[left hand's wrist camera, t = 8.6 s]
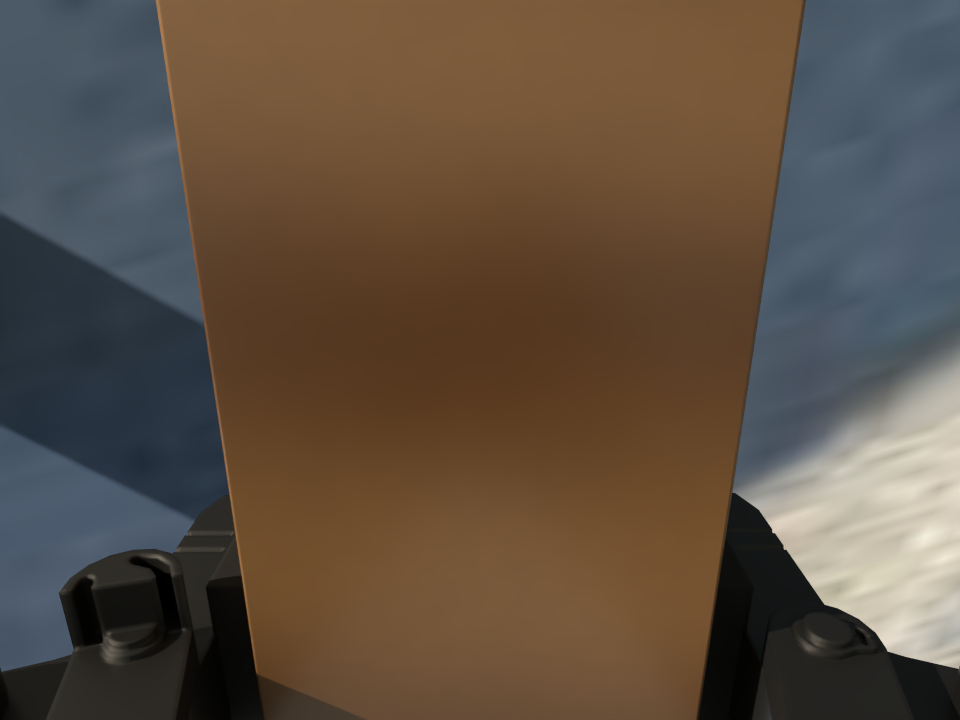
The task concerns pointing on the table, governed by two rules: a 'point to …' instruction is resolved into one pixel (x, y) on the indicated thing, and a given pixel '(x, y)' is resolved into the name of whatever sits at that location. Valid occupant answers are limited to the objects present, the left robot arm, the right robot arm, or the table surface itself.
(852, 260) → the table surface
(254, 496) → the beam
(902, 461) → the table surface
